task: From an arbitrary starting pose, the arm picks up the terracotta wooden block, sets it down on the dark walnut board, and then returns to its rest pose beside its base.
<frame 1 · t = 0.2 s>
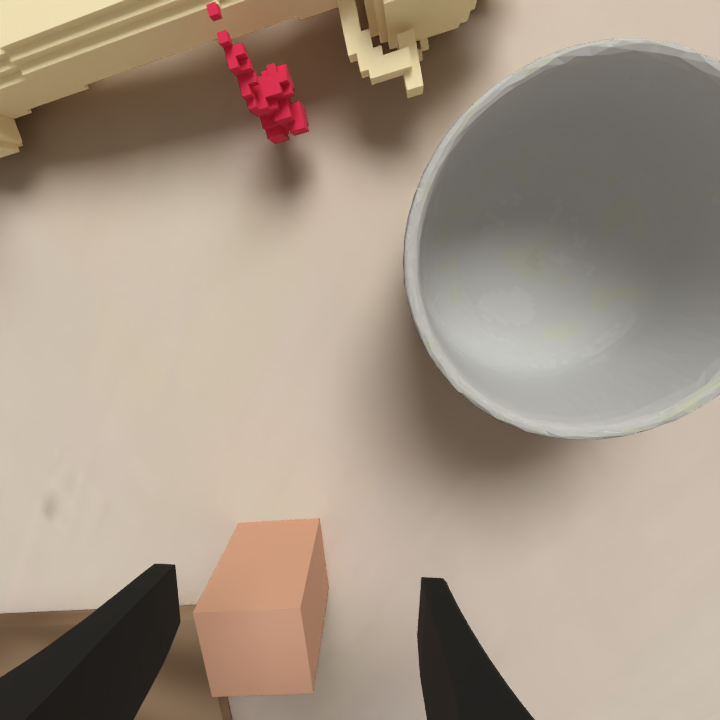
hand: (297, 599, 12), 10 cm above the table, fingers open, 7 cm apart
teacup: (542, 234, 19), on the table
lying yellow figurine: (209, 42, 18), on the table
block: (284, 555, 24), on the table
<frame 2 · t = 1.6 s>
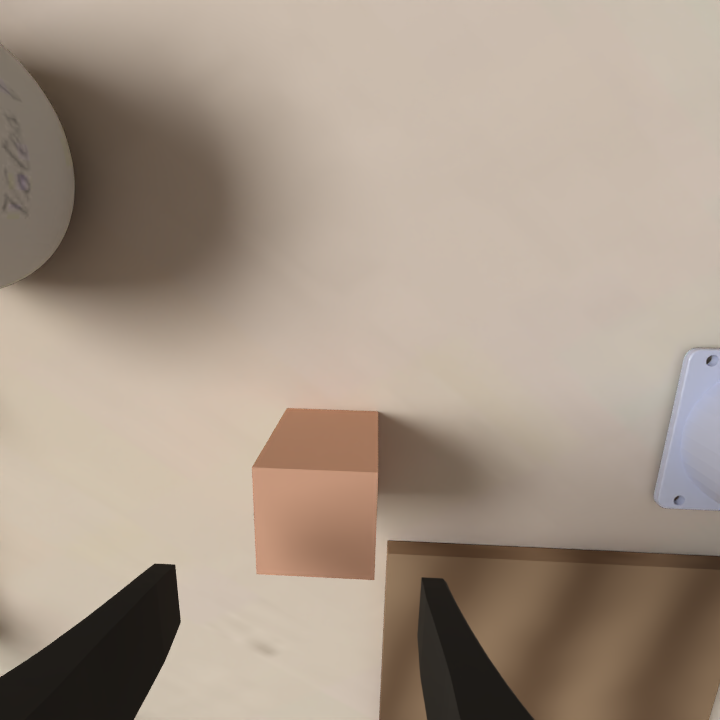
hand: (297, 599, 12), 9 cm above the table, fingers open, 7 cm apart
board: (542, 655, 24), on the table
block: (332, 451, 21), on the table
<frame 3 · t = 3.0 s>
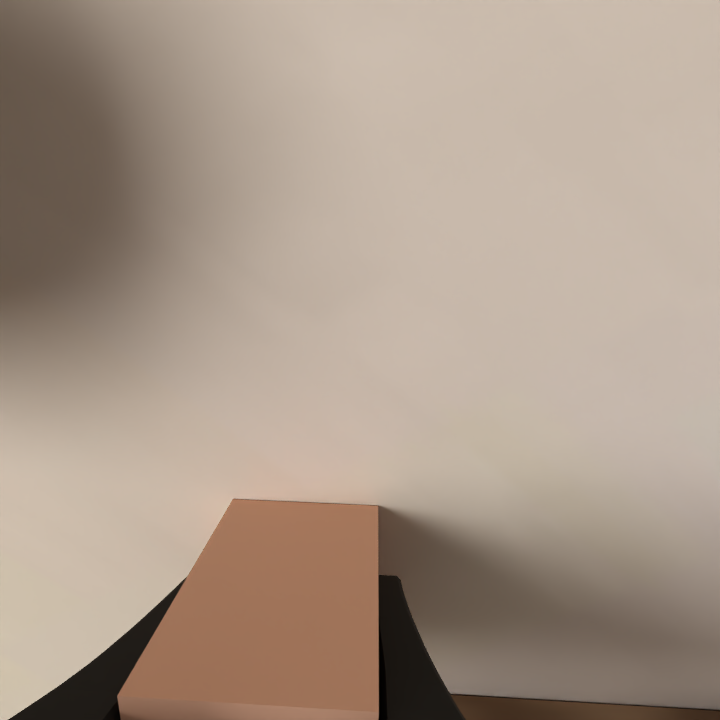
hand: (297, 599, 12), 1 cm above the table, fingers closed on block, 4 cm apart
block: (305, 564, 14), on the table, touching gripper
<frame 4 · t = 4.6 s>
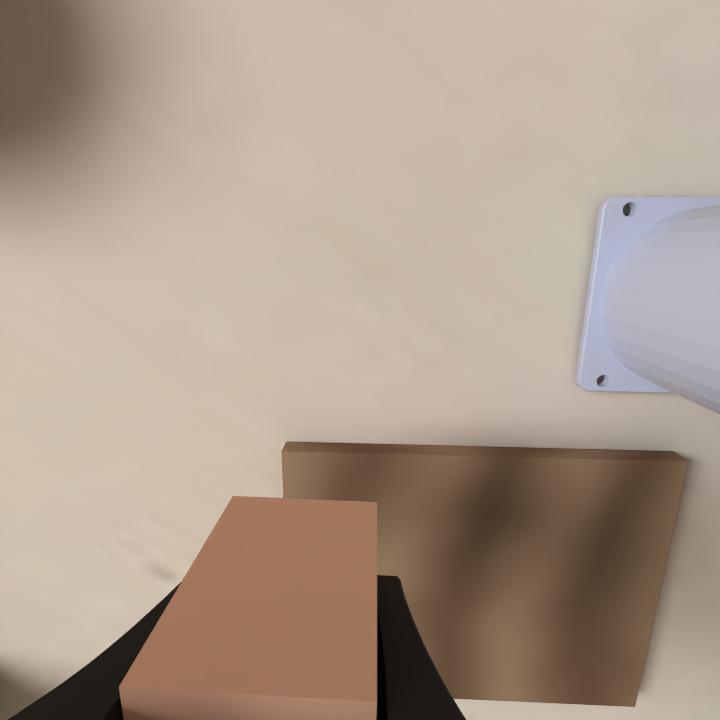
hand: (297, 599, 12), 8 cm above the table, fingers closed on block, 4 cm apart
board: (466, 572, 21), on the table
block: (305, 561, 14), point 7 cm above the table, touching gripper
when the fingers open (3 cm above the table, at t = 6.5 s): block stays where it is, resting on board.
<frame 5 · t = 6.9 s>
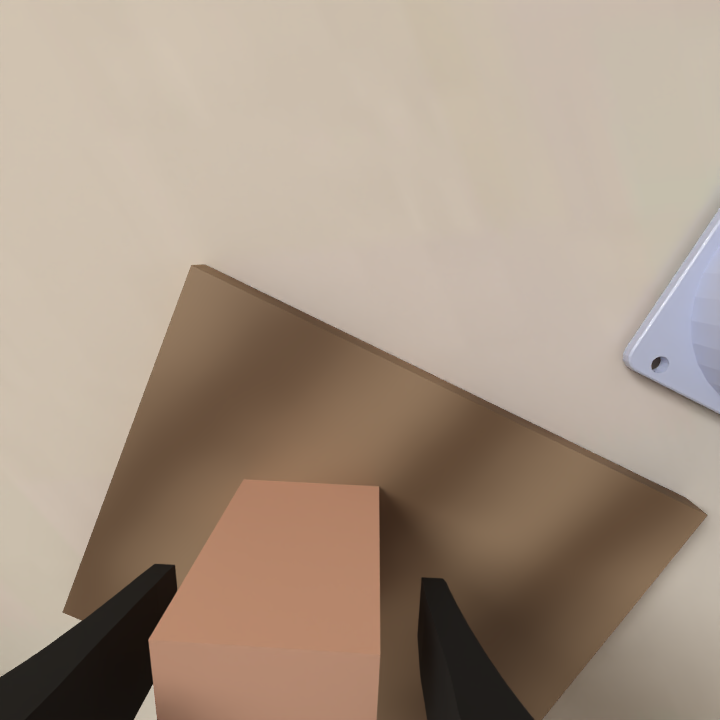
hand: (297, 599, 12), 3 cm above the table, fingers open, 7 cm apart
board: (363, 547, 16), on the table
block: (310, 541, 14), point 1 cm above the table, touching board
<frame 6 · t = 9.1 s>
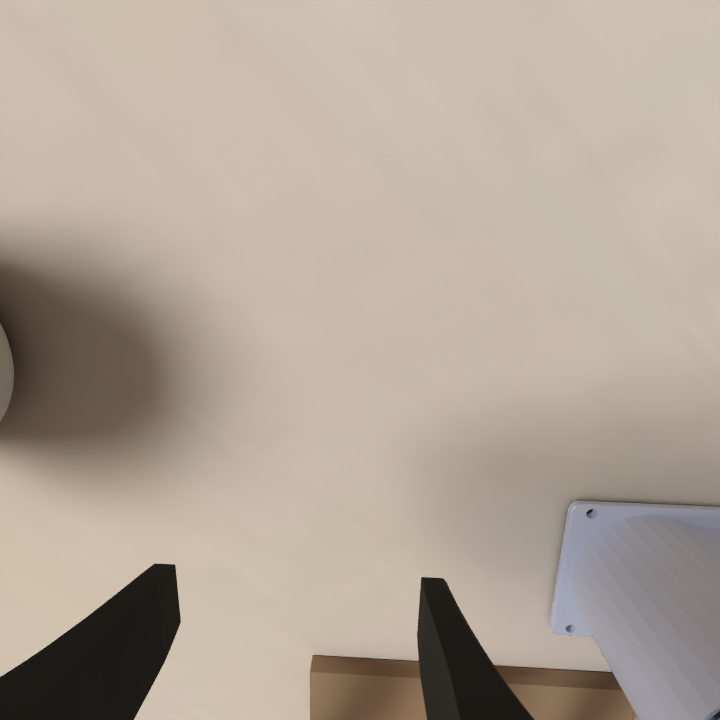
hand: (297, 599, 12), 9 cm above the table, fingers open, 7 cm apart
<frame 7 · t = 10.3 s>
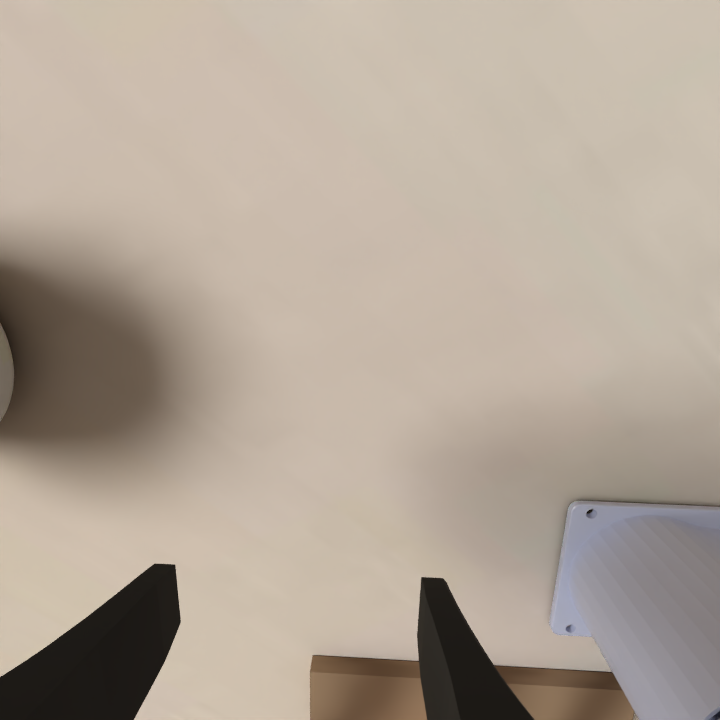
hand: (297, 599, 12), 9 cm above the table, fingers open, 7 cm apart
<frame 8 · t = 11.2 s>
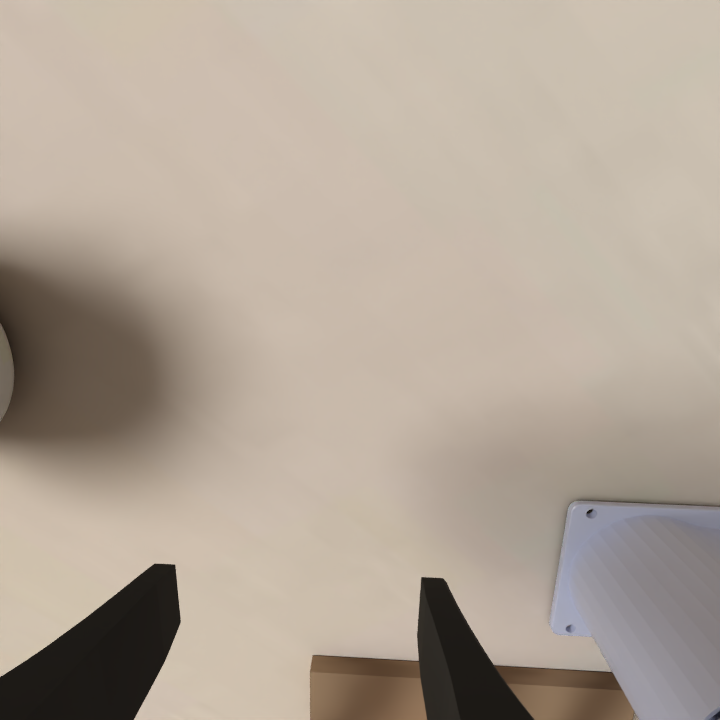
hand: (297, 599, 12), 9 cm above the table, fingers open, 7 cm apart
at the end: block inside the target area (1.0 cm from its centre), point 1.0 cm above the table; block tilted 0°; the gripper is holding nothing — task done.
